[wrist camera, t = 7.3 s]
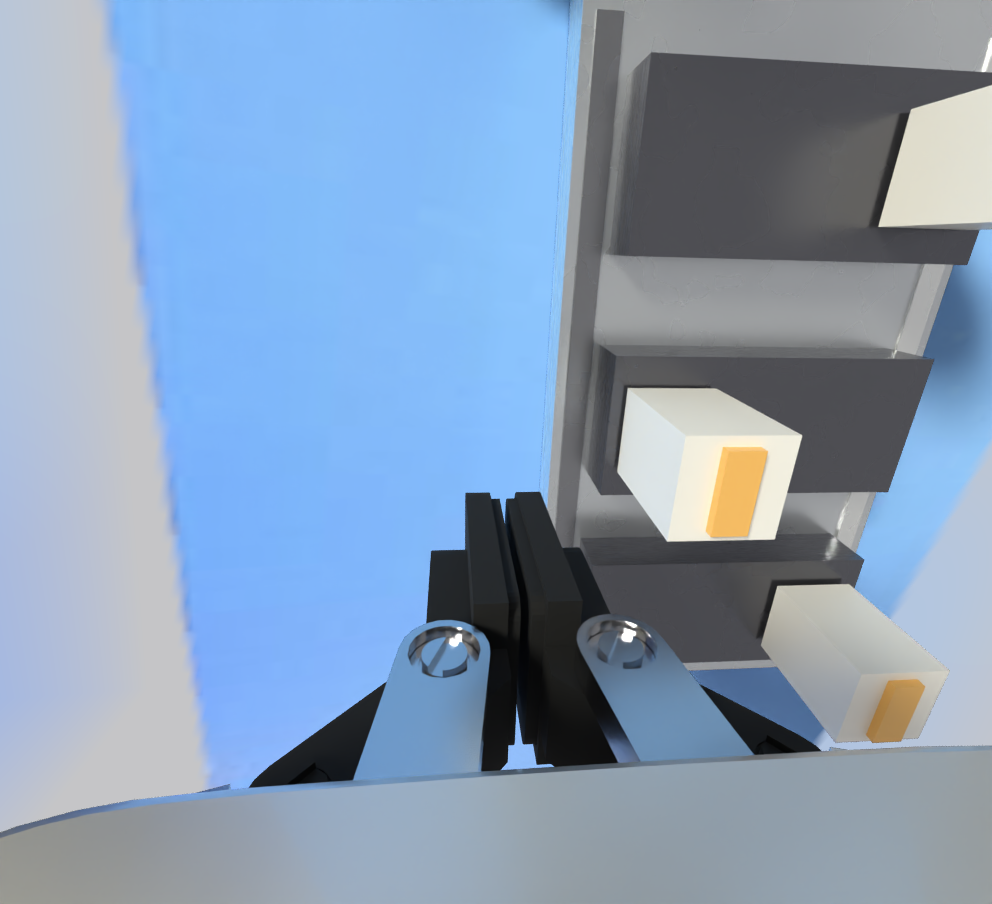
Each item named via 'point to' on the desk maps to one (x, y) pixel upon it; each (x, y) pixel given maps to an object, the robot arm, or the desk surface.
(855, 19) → the panel
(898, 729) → the handle
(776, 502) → the handle mid
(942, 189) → the handle
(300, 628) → the desk surface
